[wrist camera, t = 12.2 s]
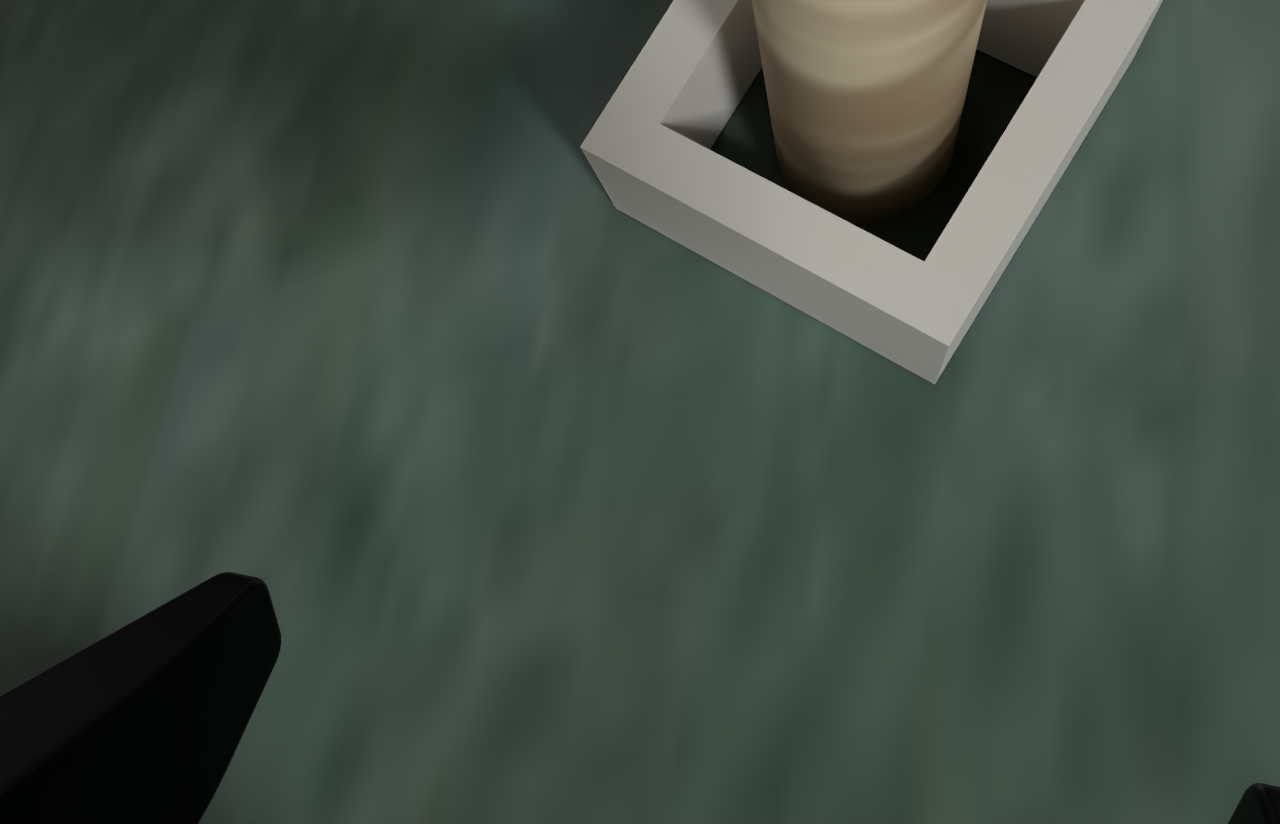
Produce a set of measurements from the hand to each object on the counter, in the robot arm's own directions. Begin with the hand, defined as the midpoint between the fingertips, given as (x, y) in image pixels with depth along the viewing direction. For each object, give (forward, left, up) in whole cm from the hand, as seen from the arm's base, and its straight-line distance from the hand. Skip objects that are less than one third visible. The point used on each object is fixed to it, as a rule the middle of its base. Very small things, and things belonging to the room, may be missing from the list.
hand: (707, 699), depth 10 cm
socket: (+11, +4, -14) cm, 18 cm away
